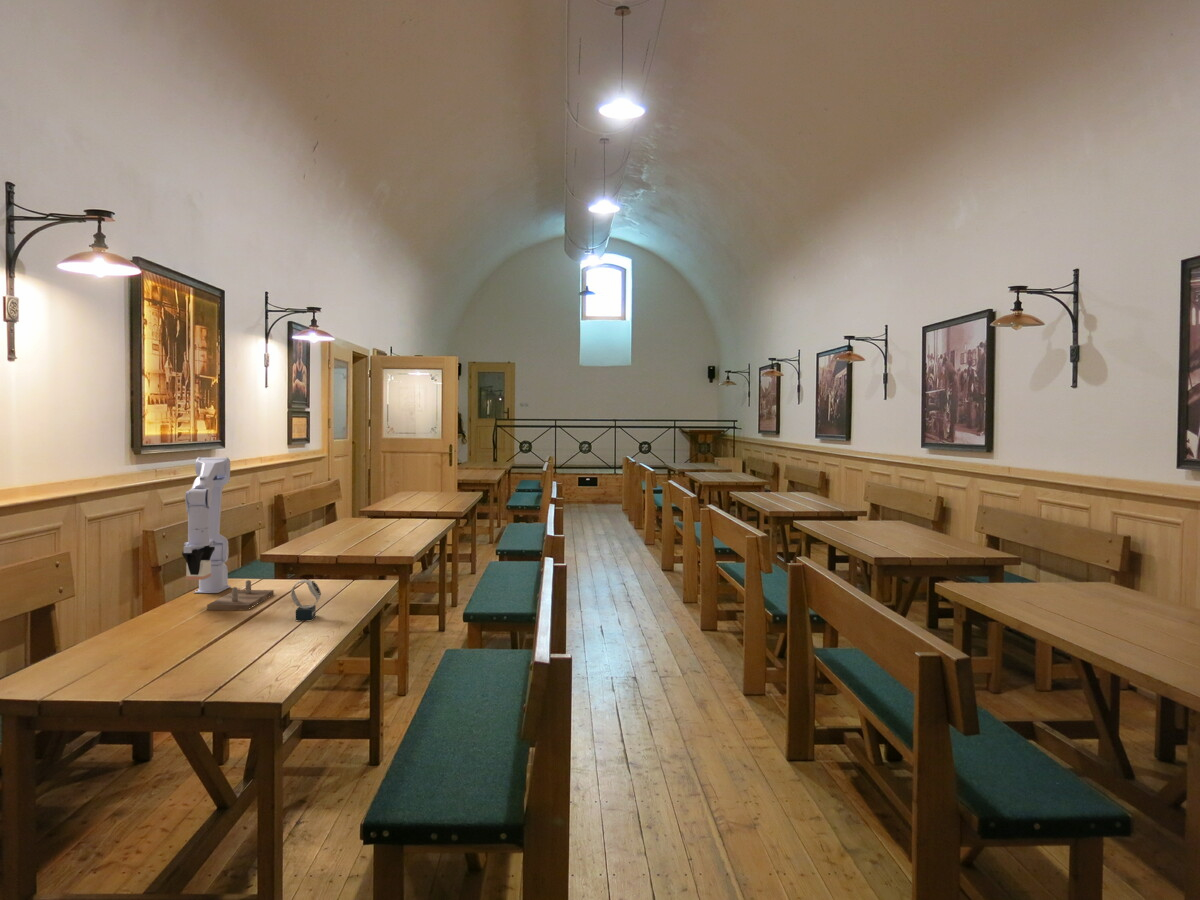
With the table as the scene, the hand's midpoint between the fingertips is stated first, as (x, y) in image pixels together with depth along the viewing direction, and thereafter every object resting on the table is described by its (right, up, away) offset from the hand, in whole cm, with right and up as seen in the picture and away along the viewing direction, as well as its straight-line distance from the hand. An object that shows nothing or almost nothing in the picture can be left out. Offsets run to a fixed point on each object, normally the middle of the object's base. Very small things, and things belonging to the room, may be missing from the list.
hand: (198, 572), depth 235 cm
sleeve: (0, -2, 0) cm, 2 cm away
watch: (+38, -11, -13) cm, 41 cm away
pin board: (+11, -10, +5) cm, 15 cm away
